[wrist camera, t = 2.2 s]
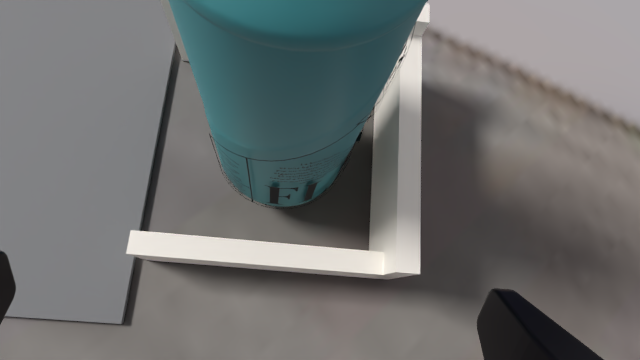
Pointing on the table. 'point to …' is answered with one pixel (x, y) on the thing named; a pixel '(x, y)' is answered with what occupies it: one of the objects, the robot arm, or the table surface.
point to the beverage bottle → (291, 84)
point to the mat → (78, 148)
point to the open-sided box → (386, 196)
